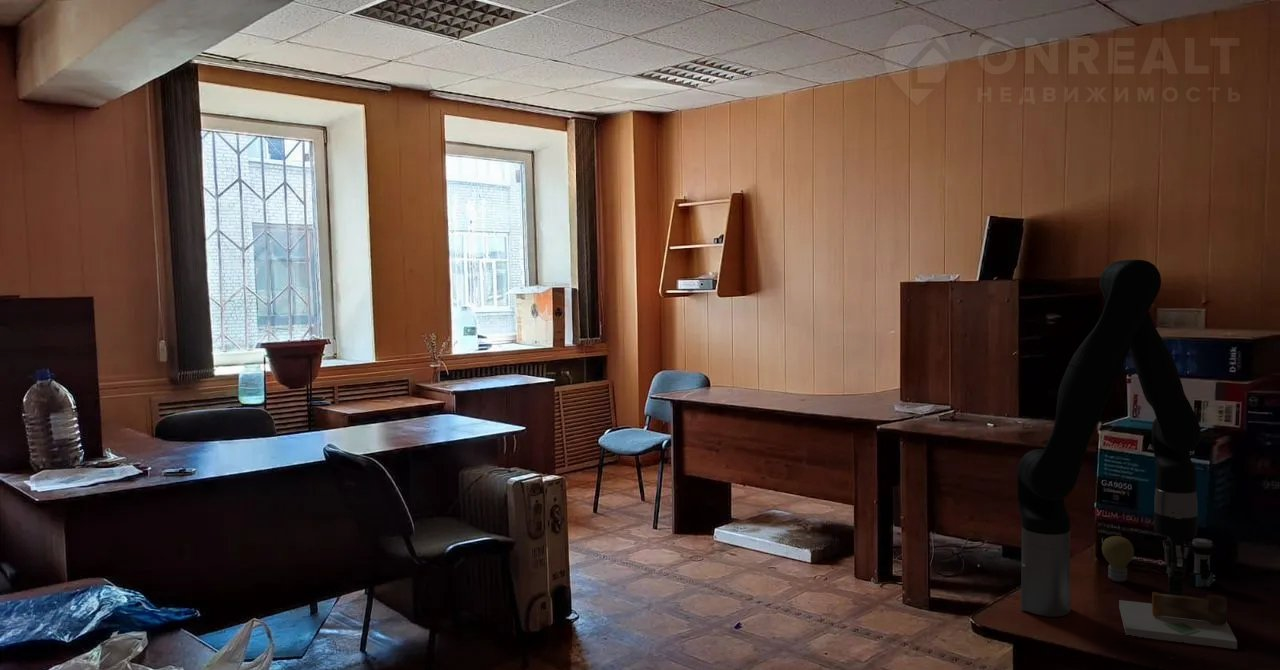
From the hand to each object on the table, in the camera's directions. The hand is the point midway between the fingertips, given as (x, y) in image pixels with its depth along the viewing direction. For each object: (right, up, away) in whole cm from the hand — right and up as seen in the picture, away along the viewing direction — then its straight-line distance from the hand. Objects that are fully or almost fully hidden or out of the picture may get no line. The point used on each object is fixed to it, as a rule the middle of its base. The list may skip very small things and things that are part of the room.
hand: (1175, 593), depth 179 cm
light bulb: (-2, -3, +18) cm, 19 cm away
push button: (+15, -2, +14) cm, 21 cm away
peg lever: (-2, -3, -8) cm, 8 cm away
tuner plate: (-4, -4, -7) cm, 9 cm away
